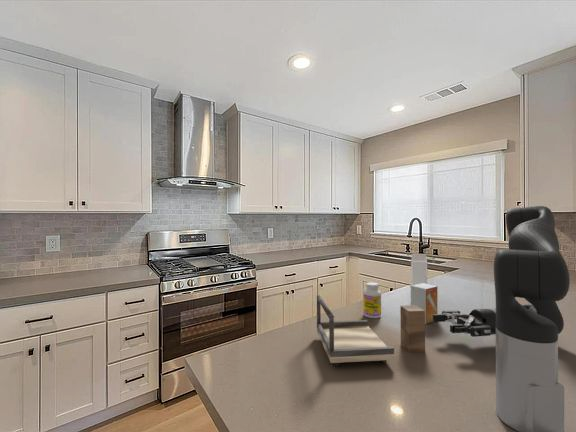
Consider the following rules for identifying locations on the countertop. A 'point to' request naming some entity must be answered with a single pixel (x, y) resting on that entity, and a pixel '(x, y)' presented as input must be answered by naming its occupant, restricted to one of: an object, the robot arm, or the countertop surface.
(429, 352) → the countertop surface
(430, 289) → the small box
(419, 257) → the milk
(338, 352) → the cart
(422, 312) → the walnut block
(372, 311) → the supplement bottle
